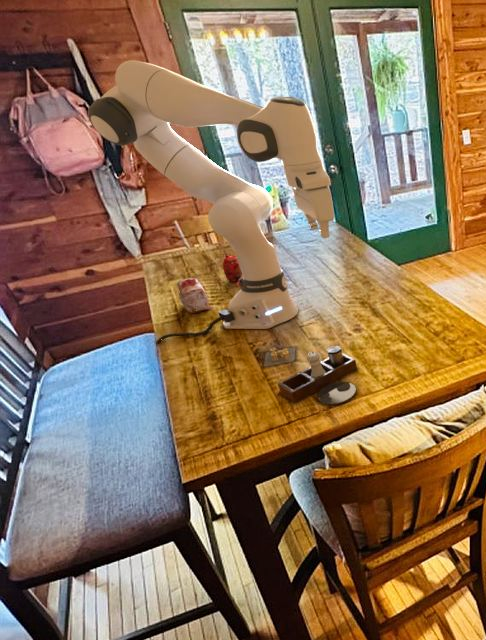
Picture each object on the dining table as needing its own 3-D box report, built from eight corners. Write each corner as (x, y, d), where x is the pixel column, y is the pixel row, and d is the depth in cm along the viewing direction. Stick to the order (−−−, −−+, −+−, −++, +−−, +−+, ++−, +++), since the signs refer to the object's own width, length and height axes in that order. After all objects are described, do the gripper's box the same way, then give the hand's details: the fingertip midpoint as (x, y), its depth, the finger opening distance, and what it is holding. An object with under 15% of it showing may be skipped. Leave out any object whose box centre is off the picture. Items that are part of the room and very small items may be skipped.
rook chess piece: (313, 376, 126) (305, 350, 121) (330, 375, 126) (323, 348, 122) (309, 386, 122) (301, 359, 118) (327, 385, 122) (320, 357, 118)
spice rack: (295, 403, 116) (291, 392, 115) (280, 393, 120) (277, 383, 119) (357, 369, 128) (355, 359, 126) (342, 361, 131) (340, 351, 130)
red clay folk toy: (237, 283, 184) (223, 244, 176) (222, 282, 186) (208, 243, 178) (251, 275, 190) (238, 237, 182) (236, 274, 192) (224, 236, 184)
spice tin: (331, 375, 126) (325, 353, 123) (333, 367, 129) (328, 346, 125) (345, 373, 126) (339, 352, 123) (347, 366, 129) (342, 345, 126)
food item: (214, 309, 165) (203, 282, 160) (188, 317, 161) (176, 289, 156) (205, 297, 174) (195, 271, 169) (180, 304, 170) (169, 277, 165)
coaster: (314, 406, 115) (314, 405, 114) (322, 385, 122) (322, 383, 122) (353, 403, 115) (352, 401, 115) (358, 382, 122) (358, 380, 122)
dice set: (290, 359, 134) (288, 353, 133) (270, 362, 133) (268, 356, 132) (290, 350, 138) (289, 344, 137) (271, 353, 137) (269, 348, 136)
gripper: (281, 171, 121) (295, 226, 129) (304, 183, 106) (319, 245, 114) (306, 167, 124) (319, 221, 131) (332, 178, 109) (345, 239, 116)
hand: (319, 233), depth 122 cm, fingers open, 8 cm apart
